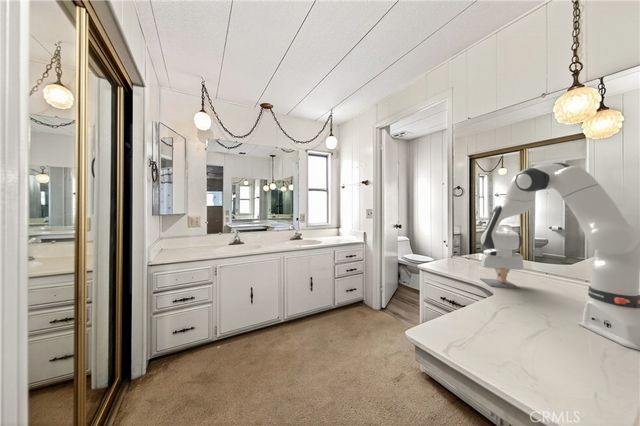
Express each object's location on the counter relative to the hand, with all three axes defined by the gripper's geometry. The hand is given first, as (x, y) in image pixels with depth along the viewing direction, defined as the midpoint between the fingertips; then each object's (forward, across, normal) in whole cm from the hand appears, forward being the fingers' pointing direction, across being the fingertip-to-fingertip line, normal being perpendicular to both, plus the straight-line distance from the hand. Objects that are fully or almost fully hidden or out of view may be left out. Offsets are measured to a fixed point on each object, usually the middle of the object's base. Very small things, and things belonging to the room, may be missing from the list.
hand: (501, 276), depth 139 cm
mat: (+4, +2, +2) cm, 5 cm away
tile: (+3, 0, 0) cm, 3 cm away
